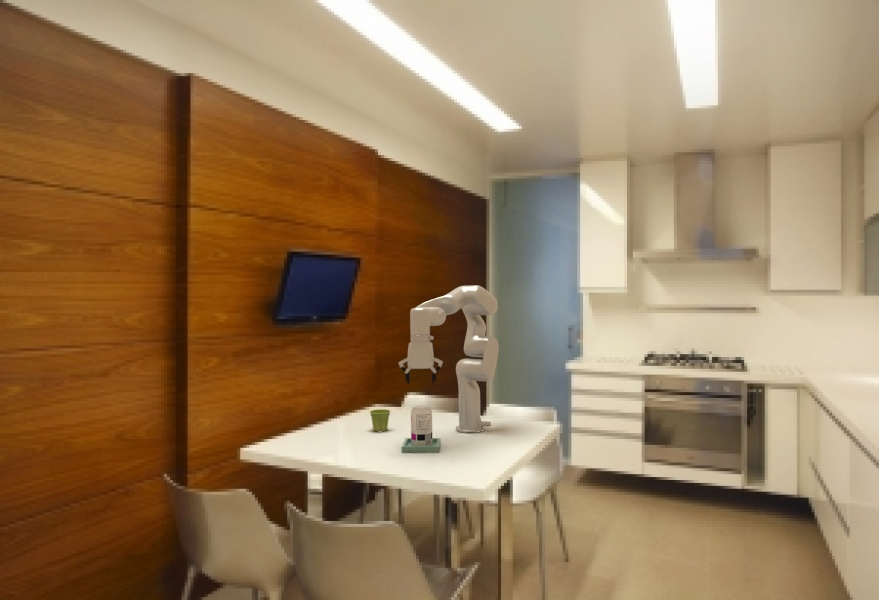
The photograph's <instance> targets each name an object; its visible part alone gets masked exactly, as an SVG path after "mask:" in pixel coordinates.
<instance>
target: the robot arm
mask: <svg viewBox="0 0 879 600" xmlns="http://www.w3.org/2000/svg"><path fill="white" fill-rule="evenodd" d="M498 307H499V306H498V301H497V299H496V297H495V296H494V295H493V294H492V293H490V291H488V290H487V289H486V288H484V287H482V286H481V285H461V286H458V287H455V288H454V289H453V290H452V291H450V292H448V293H446V294H445V295H443V296H439V297H436V298H433V299H430V300H428V301H425V302H423V303H421V304H419V305H417V306H416V307H413V308H411V309H410V312H409V314H410V316H409V317H410V318H409V320H410V322H409V324H410V342H409V343H408V347H407V348H408V349H407V357H405V358H404V359H402V360H400V361H399V362H398V365H399V368H400V370H402V371H403V372H404V374H405V382H407V383H406V384H407V385H410V384H411V373H410V371H411V370H412V369H413V370H415V369H418V370H419V369H420V370H422V369H423V370H425V369H426V370H428V369H430V370H431V372H432V373H431V383H432V384H433V385H434V384H435V382H437V372H438V371H439V370H440V369H441V368H442V366H443V363H444V362H443V360H441V359H439V358H437V357H434V356H435V355H434V354H435V353H434V348H433V342H431V341H432V340H434V336H433V335H430V332H431V326H432V327H435V326H441V325H443V324H444V323H445V321H446V319H447V316H448V315H453V314H456V313H457V312H458V311H459V310H462V312H463V314H464V316H465V319H466V323H467V328H466V335H465V339H464V345H463V352H464V354H465V356H468V357H471V358H462V359H460V360H458V362H457V363H456V366H455V373H456V377H457V385H458V387H457V388H458V425H457V426H455V430H457V431H456V432H458V431H460V432H459V433H463V432H476V433H479V432H478V431H481V432H483V431H485V427H491V426H492V421H487V420H486V421H483V420H482V418H481V390H480V386H479V384H478V382H490V381H492V379H493V378H494V376H495V372H496V369H497V363H498V361H497V360H498V356H499V350H500V349H499V342H498V340H497V338H495V336H490V335H486V331H487V325H486V323H485V321H484V319H483V318H482V316H491V315H495V313H496V312H497V311H498ZM472 357H473V358H472ZM474 357H475V358H474ZM435 362H436V363H438V365H437V367H434V366H435ZM405 363H407V368H406V367H405V366H404V364H405ZM482 430H483V431H482Z"/></svg>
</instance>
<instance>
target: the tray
mask: <svg viewBox="0 0 879 600" xmlns="http://www.w3.org/2000/svg"><path fill="white" fill-rule="evenodd" d="M432 441H433V444H432V445H431V446H412V445H411V437H406V438H405V439H404V441H403V443H402V445H401V453H402V454H403V453H404V454H405V453H406V454H411V453H412V454H414V453H415V454H419V453H420V452H421V453H420V454H422V453H424V454H425V453H426V452H432V454H436V453H437V454H438V453H440V449H441V444H440V443H441V438H440V437H432Z"/></svg>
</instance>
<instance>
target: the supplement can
mask: <svg viewBox="0 0 879 600" xmlns="http://www.w3.org/2000/svg"><path fill="white" fill-rule="evenodd" d="M410 438H411V445H412V446H431V445H432V444H433V441H432V438H433V411H432V408H431V406H427V405H416V406H413V407H412V409H411V411H410Z"/></svg>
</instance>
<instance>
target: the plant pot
mask: <svg viewBox="0 0 879 600" xmlns="http://www.w3.org/2000/svg"><path fill="white" fill-rule="evenodd" d="M369 413H370V417H371V422H372V430H373V432H376V431H383V432H384V431H385V430H387V431H388V425H389V417H390V414H391V410H390V409H387V408H386V409H373V410H370V411H369ZM385 432H386V431H385Z"/></svg>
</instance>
